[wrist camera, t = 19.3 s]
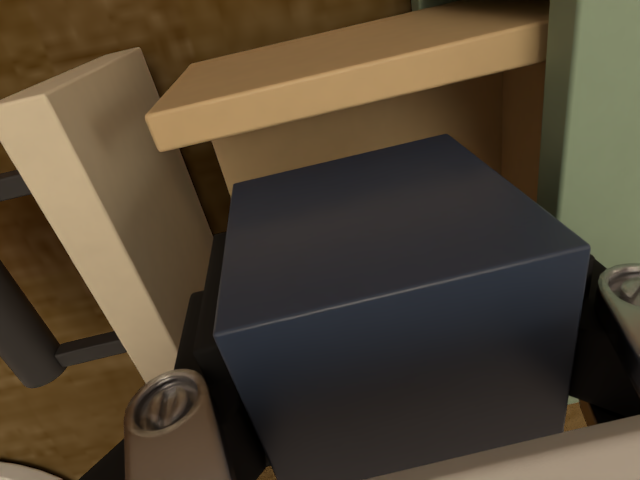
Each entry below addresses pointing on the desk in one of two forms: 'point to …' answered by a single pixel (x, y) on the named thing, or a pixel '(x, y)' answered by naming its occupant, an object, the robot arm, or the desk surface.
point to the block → (396, 311)
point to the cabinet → (591, 124)
